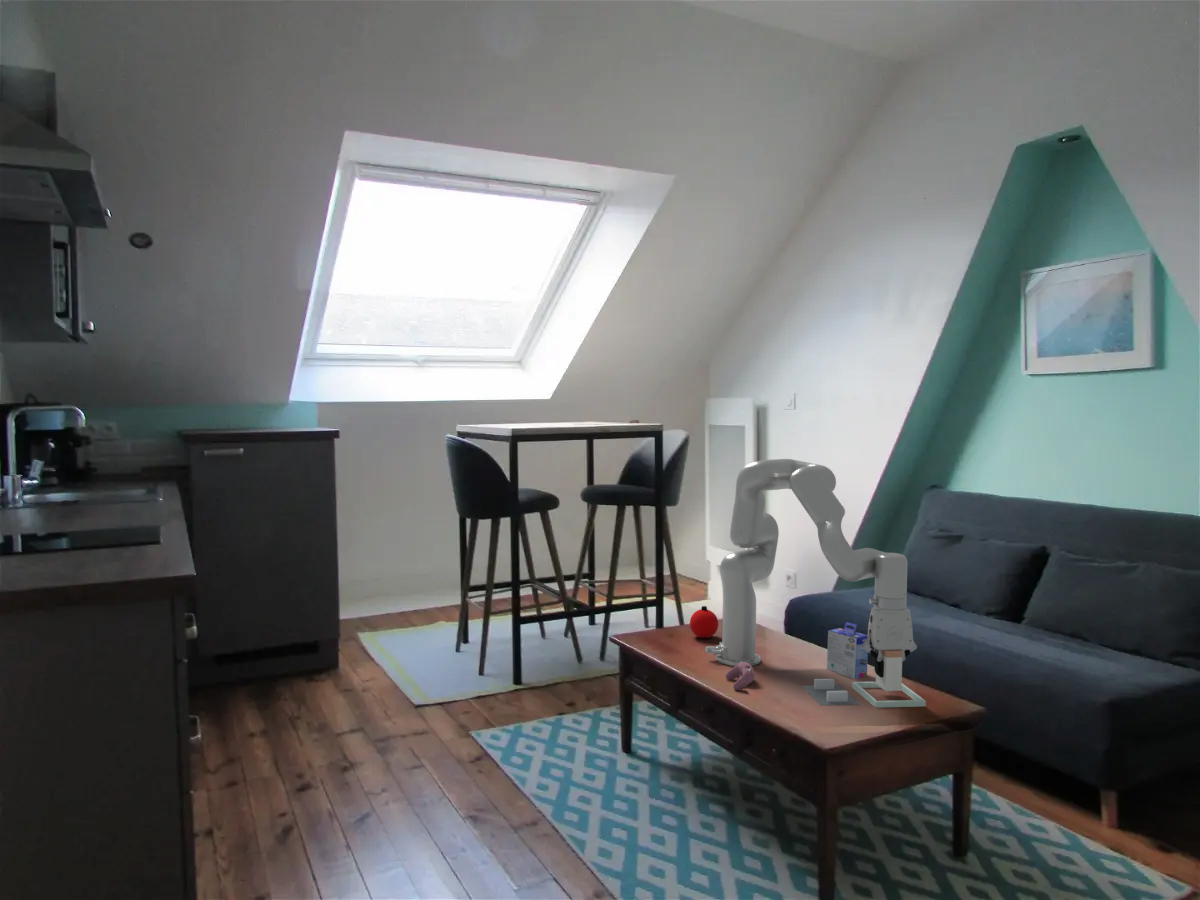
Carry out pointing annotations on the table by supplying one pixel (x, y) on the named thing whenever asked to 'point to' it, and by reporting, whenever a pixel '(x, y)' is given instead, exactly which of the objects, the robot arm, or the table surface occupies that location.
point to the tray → (915, 702)
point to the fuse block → (829, 693)
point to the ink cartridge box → (847, 652)
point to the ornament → (704, 623)
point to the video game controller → (741, 675)
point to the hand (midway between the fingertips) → (888, 674)
